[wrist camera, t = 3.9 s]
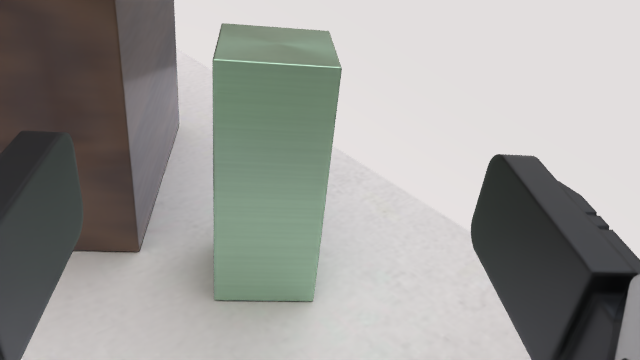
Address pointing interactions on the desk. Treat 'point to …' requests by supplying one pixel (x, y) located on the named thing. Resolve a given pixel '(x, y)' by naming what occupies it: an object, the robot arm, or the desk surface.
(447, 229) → the desk surface
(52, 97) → the stand
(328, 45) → the pen tin
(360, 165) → the desk surface
